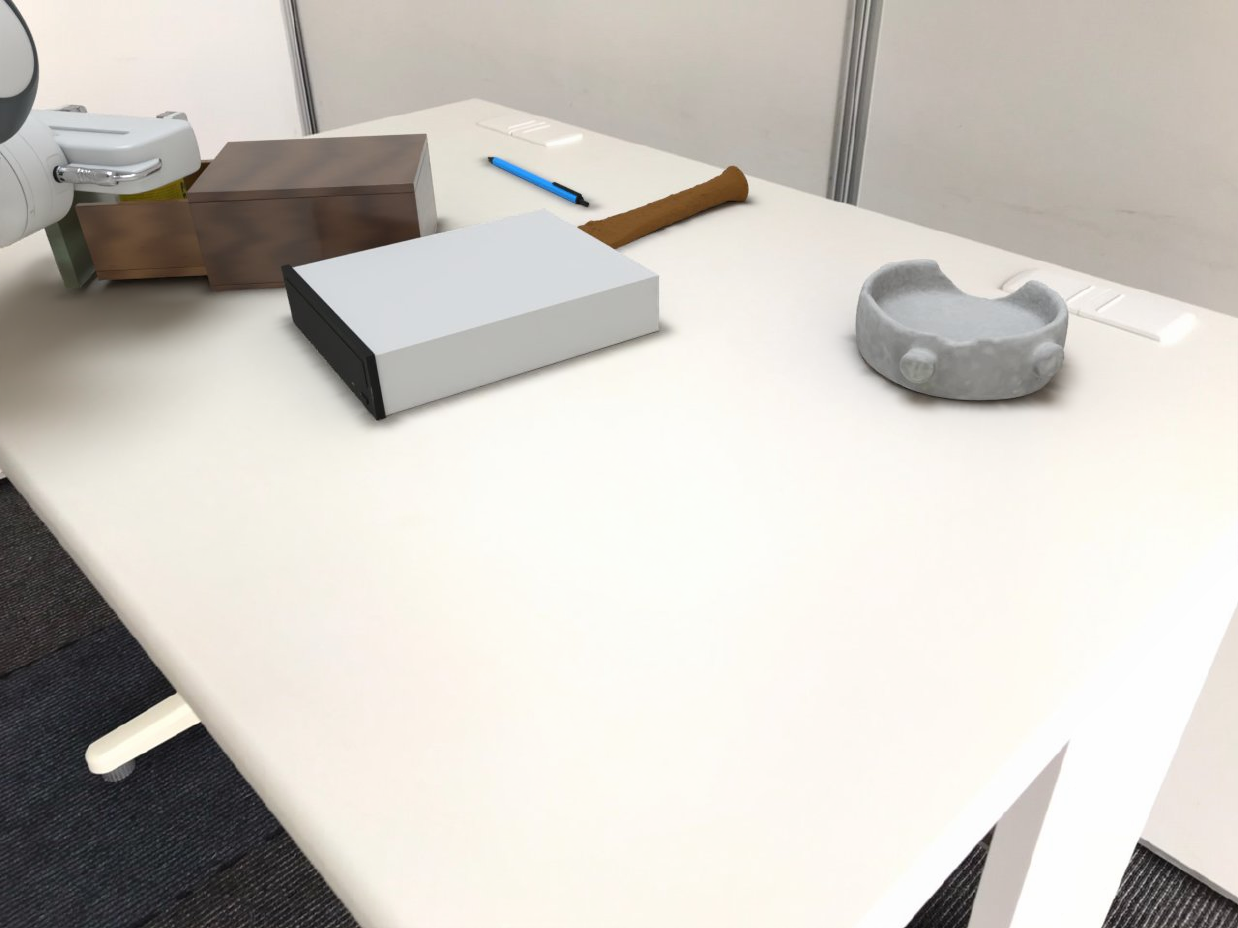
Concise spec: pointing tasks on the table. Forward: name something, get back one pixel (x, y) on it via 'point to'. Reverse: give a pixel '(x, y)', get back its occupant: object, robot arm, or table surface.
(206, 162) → the drawer
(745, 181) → the primitive tool
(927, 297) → the dish
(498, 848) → the table surface
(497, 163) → the pen
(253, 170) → the cabinet
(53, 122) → the robot arm
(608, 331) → the disc drive
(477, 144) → the table surface
